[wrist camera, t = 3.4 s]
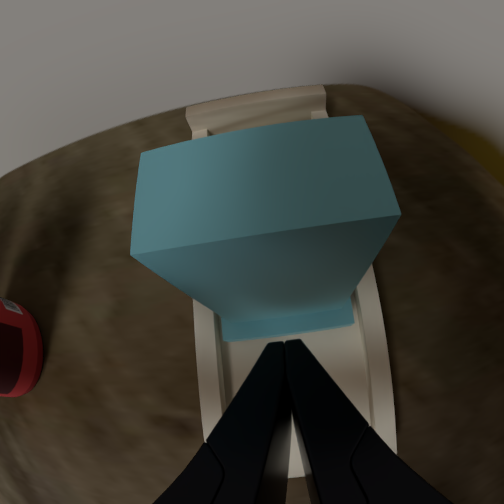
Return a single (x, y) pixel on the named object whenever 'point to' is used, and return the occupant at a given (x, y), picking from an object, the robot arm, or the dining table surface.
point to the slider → (267, 222)
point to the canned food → (18, 350)
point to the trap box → (319, 343)
